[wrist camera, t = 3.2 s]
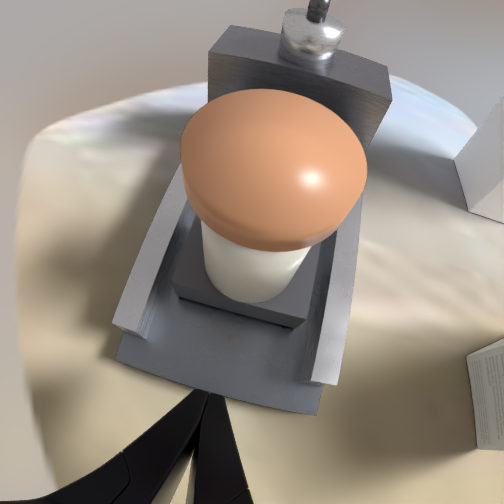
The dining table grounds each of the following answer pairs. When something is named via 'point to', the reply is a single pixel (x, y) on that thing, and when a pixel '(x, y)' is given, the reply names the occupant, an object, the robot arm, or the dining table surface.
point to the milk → (484, 167)
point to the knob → (264, 200)
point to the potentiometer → (310, 36)
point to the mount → (230, 323)
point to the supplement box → (488, 395)
